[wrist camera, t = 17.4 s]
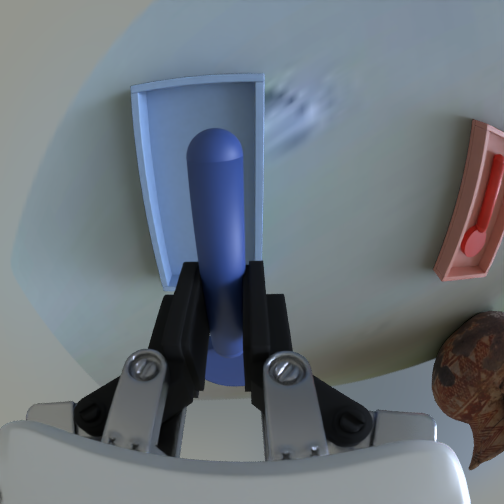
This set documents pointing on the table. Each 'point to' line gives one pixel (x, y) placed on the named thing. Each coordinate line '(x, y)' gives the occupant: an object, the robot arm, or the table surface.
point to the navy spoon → (220, 246)
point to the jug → (474, 382)
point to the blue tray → (175, 164)
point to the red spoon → (484, 211)
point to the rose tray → (474, 209)
